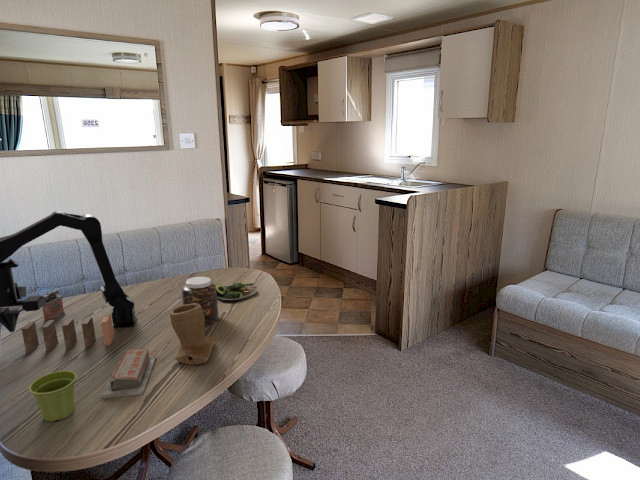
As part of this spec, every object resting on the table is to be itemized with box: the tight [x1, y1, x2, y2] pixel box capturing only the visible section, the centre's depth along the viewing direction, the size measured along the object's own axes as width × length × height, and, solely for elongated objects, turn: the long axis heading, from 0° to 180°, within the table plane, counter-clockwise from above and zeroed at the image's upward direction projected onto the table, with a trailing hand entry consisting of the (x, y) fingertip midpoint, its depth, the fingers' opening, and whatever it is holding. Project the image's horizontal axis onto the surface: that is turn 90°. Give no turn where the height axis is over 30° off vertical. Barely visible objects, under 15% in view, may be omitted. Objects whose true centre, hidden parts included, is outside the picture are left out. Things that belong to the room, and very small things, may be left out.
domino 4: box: [81, 316, 97, 348], centre depth 132 cm, size 2×5×8 cm, turn 12°
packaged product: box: [100, 347, 157, 399], centre depth 114 cm, size 18×5×10 cm
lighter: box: [41, 289, 66, 324], centre depth 150 cm, size 8×3×10 cm, turn 168°
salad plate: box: [215, 282, 258, 303], centre depth 174 cm, size 19×18×5 cm
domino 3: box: [61, 317, 78, 350], centre depth 131 cm, size 2×5×8 cm, turn 12°
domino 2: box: [41, 320, 59, 352], centre depth 130 cm, size 2×5×8 cm, turn 12°
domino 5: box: [100, 314, 115, 346], centre depth 133 cm, size 2×5×8 cm, turn 13°
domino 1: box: [21, 321, 40, 354], centre depth 129 cm, size 2×5×8 cm, turn 12°
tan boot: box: [169, 303, 215, 366], centre depth 124 cm, size 15×12×15 cm
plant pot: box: [28, 370, 77, 422], centre depth 98 cm, size 9×9×9 cm
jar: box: [181, 276, 219, 327], centre depth 147 cm, size 12×12×15 cm
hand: (12, 331), depth 127 cm, fingers closed
